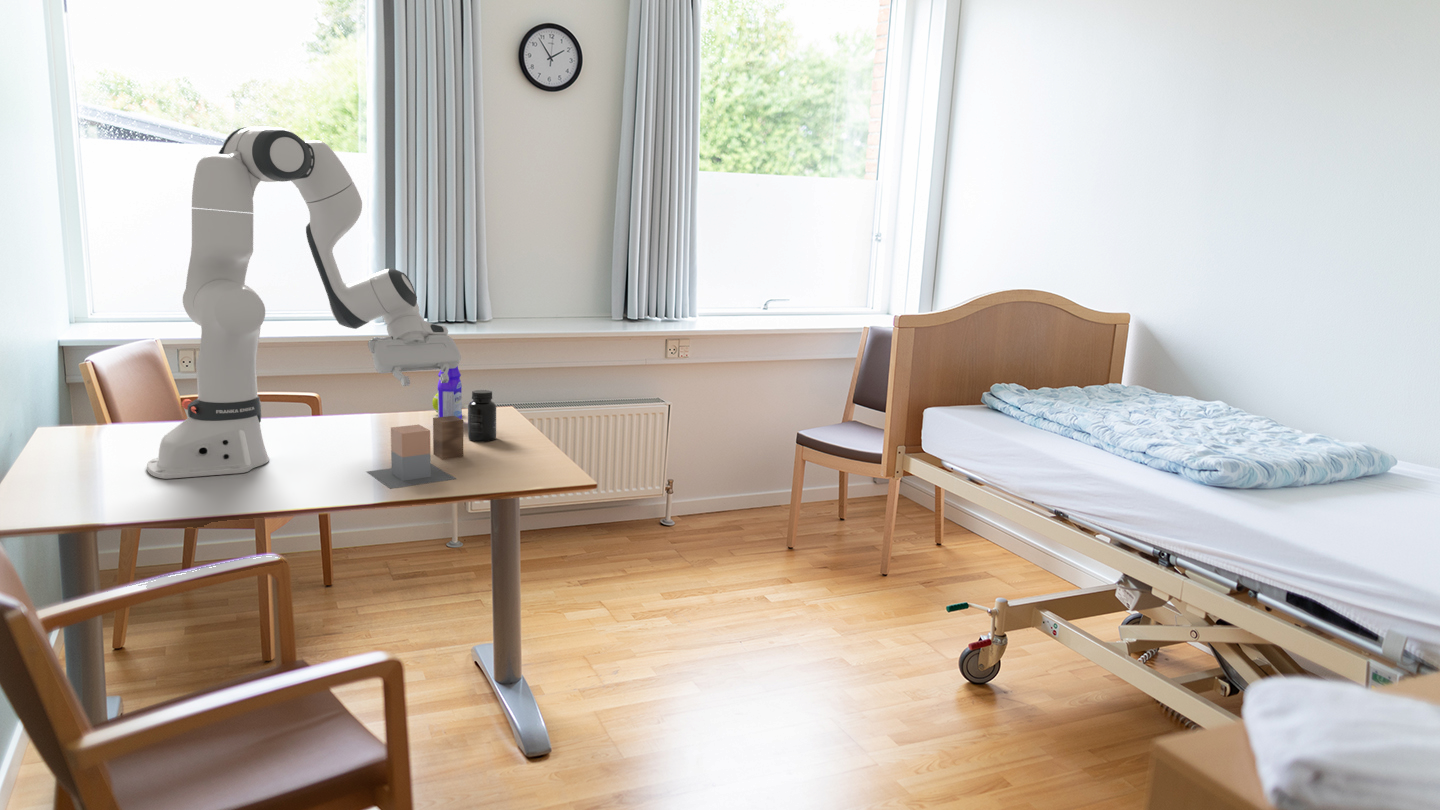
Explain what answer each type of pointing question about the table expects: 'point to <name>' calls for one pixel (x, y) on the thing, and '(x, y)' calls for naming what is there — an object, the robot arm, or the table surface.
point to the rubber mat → (394, 482)
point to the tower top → (410, 440)
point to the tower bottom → (411, 466)
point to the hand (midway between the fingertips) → (426, 383)
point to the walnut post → (448, 437)
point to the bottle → (450, 395)
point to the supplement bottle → (482, 417)
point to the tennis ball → (435, 402)
